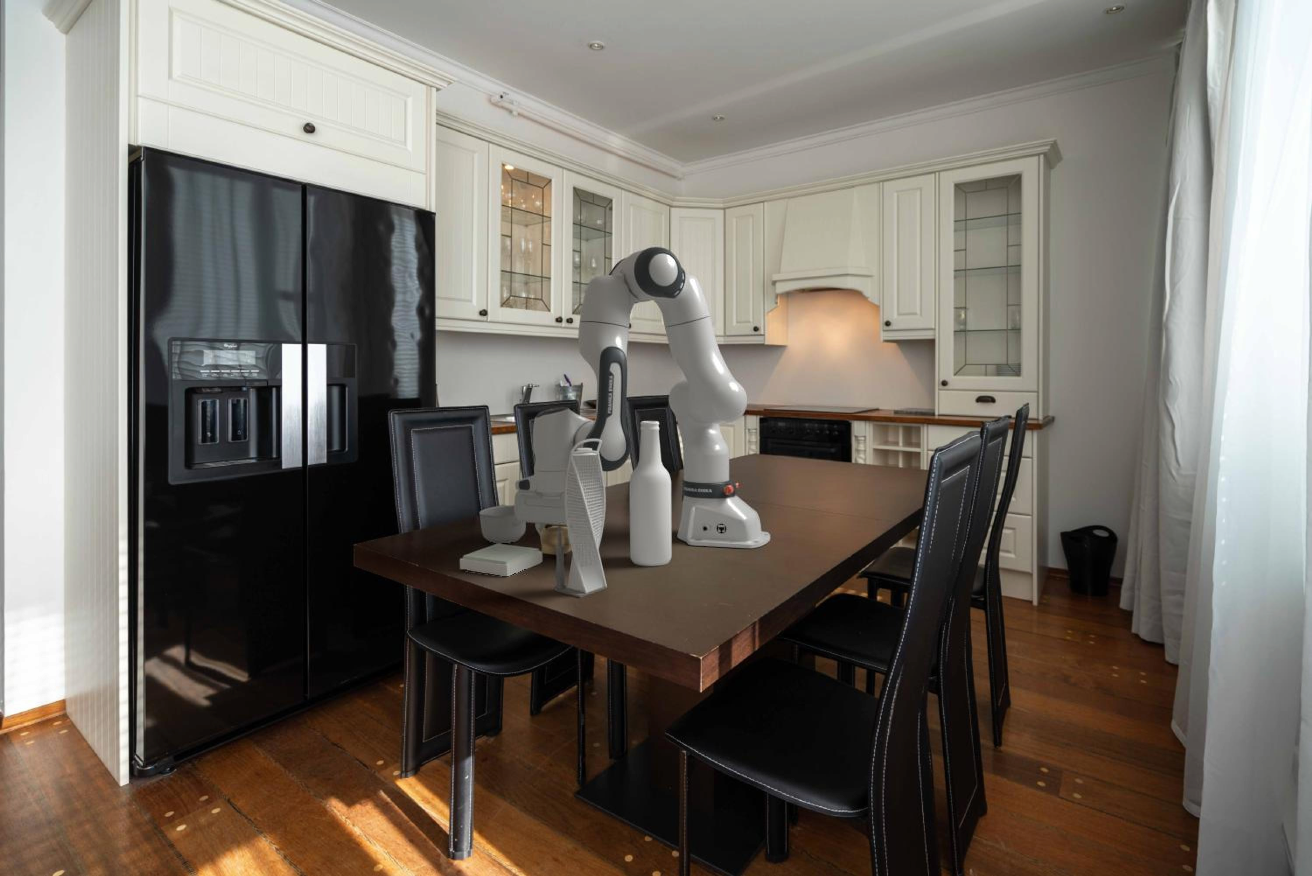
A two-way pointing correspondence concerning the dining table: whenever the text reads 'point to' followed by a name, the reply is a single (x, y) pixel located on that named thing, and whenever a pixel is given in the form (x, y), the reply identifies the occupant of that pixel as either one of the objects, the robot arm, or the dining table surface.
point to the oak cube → (553, 539)
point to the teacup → (501, 524)
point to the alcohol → (650, 503)
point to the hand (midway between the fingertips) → (557, 543)
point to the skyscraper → (583, 523)
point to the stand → (501, 559)
